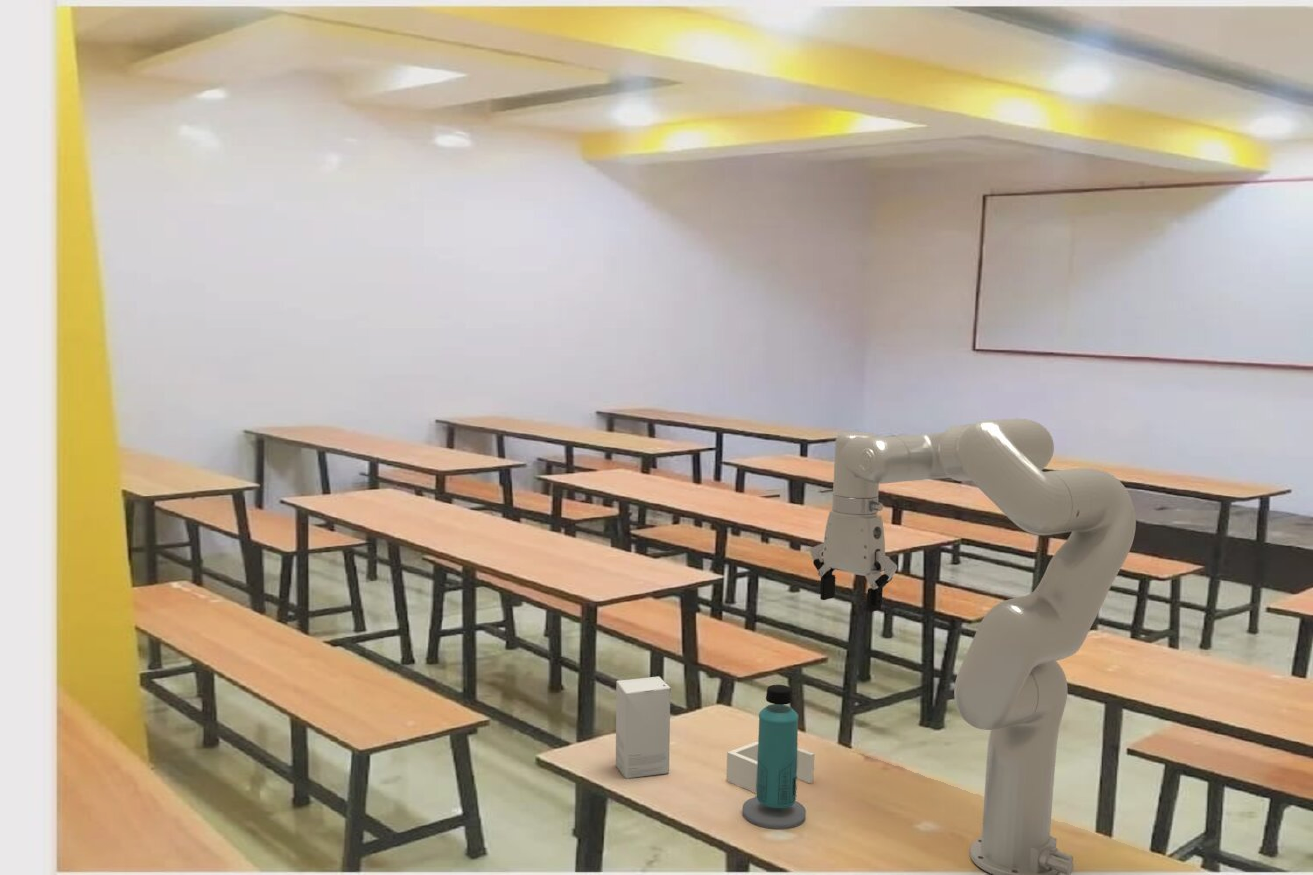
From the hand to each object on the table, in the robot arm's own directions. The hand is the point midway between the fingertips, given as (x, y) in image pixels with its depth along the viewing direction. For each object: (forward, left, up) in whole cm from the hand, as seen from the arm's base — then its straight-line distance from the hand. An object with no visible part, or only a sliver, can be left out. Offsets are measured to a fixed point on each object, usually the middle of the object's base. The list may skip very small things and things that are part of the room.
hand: (850, 604), depth 198 cm
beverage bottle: (-3, +21, -30) cm, 36 cm away
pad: (-3, +21, -30) cm, 37 cm away
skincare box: (+24, +25, -31) cm, 46 cm away
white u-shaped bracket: (+6, +12, -30) cm, 33 cm away
